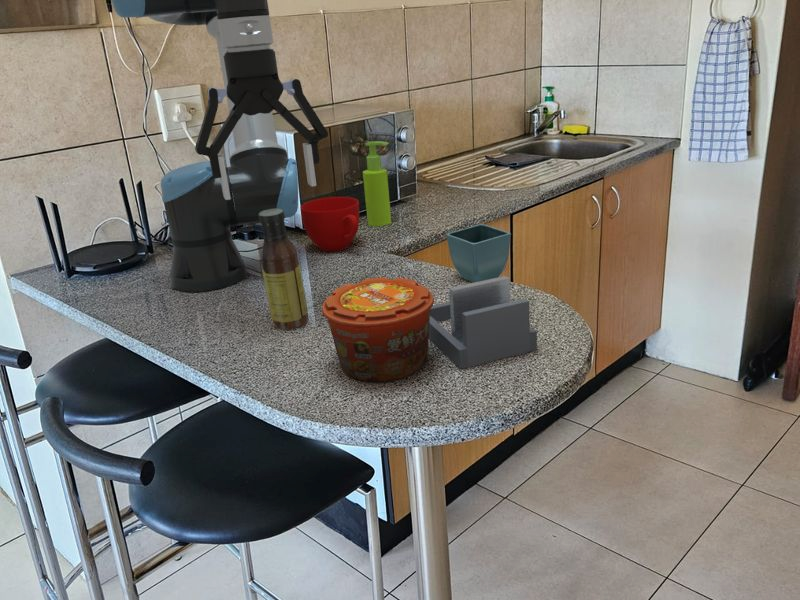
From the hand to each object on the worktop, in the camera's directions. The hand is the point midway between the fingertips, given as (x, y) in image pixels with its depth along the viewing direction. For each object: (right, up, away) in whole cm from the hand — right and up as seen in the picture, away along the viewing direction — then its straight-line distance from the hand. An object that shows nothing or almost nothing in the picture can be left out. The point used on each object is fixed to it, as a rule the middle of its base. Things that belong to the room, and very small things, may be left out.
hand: (270, 191), depth 109 cm
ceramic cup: (+7, -6, +46) cm, 47 cm away
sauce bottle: (+2, -21, +9) cm, 23 cm away
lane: (+32, -23, -2) cm, 39 cm away
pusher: (+33, -24, -5) cm, 41 cm away
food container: (+18, -27, -7) cm, 33 cm away
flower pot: (+36, -13, +21) cm, 44 cm away
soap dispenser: (+16, +2, +63) cm, 65 cm away
